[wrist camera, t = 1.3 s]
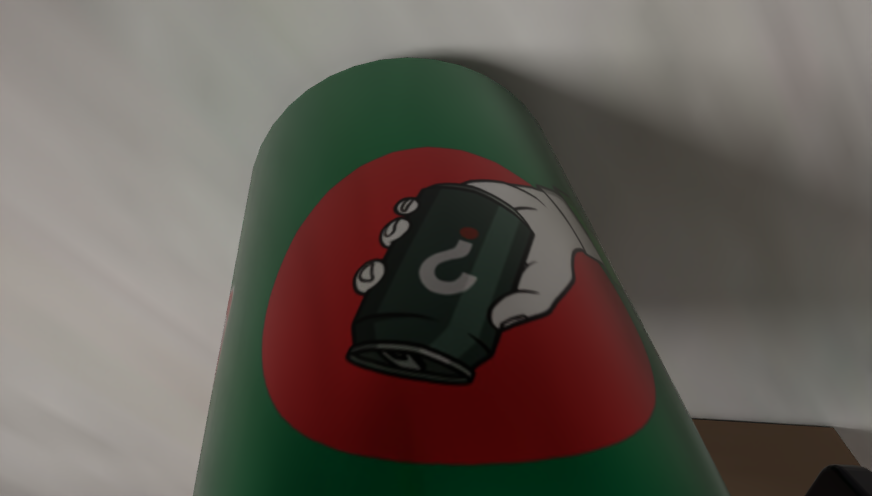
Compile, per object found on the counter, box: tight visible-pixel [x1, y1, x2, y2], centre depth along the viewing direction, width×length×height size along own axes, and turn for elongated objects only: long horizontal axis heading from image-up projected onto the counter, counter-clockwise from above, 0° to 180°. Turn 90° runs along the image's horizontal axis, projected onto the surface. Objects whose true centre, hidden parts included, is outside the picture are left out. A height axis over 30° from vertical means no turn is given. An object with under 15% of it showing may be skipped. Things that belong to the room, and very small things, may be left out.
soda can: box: [193, 57, 731, 496], centre depth 8 cm, size 5×5×12 cm
